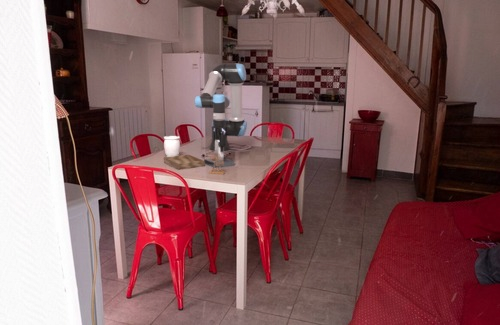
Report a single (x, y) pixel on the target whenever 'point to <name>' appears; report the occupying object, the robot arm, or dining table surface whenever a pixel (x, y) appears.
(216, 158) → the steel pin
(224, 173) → the tan ornamental figurine
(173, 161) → the tray
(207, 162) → the hitch block
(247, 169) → the dining table surface
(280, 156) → the dining table surface
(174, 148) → the jar
